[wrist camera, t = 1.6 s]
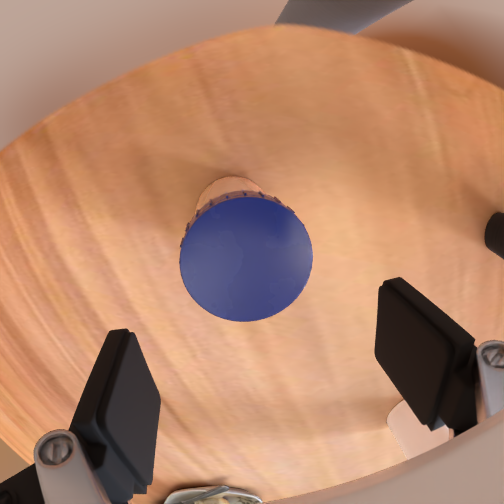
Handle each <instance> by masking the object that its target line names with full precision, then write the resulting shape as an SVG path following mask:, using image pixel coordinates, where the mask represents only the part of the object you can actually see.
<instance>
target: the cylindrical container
mask: <svg viewBox="0 0 504 504" xmlns="http://www.w3.org/2000/svg"><path fill="white" fill-rule="evenodd" d="M386 421H387V424H388V426H389V428H390V430H391V432H392V433H393V435H394V437H395V439H396V440H397V442H398V444H399V446H400V448H401V449H402V451H403V453H404V455H405V457H406V458H407V460H409V459H411V458H413V457H416V456H418V455H420V454H422V453H424V452H427V451H429V450H431V449H433V448H435V447H437V446H439V445H441V444H443V443H445V442H447V441H449V428H447V426H446V425H444V426H442V427H440V428H438V429H436V430H434V431H432V432H431V431H430V429H429V428H428V426H427V425H422V424H421V423H420V421H419V420H418V419H417V417H416V416H415V414H414V413H413V411H412V410H411V408H410V407H409V405H408V404H407V402H406V401H405V400H403V401H401V402H400V403H399V404H397V405H396V406H395V407H394V408H393V409H392V410H391V412H390V413H389V415H388V417H387V420H386Z"/></svg>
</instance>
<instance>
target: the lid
mask: <svg viewBox="0 0 504 504" xmlns="http://www.w3.org/2000/svg"><path fill="white" fill-rule="evenodd" d="M294 213H295V212H294V211H293V210H292V209H290V208H289V207H288V206H287V207H286V206H285V205H284V204H282V203H281V201H280V200H279V199H277V198H276V197H274V198H273V197H271V196H269V195H267V194H264V193H262V192H261V191H259V192H256V191H245V190H244V189H242V191H233V192H229V193H227V192H225V194H223V195H220V196H218V197H216V198H214V199H209V202H208V203H206V204H205V205H204V206H203V207H202V208H201V209H199V210H198V209H197V210H196V214H195V215H194V217H193V218H192V220H191V221H190V223H188V224H187V227H186V230H185V231H186V233H185V236H184V238H182V241H181V245H180V247H181V252H180V261H179V264H180V271H181V276H182V279H183V282H184V285H185V287H186V289H187V291H188V292H189V294H190V295H191V297H192V298H193V299H194V300H195V301H196V302H197V303H198V304H199V305H200V306H201V307H202V308H203V309H205V310H206V311H208V312H209V313H211V314H213V315H215V316H217V317H220V318H223V319H227V320H231V321H239V322H249V321H257V320H261V319H265V318H267V317H270V316H273V315H275V314H277V313H279V312H280V311H282V310H283V309H285V308H286V307H288V306H289V305H290V304H291V303H292V302H293V301H294V300H295V299H296V298H297V297H298V296H299V294H300V293H301V292H302V290H303V289H304V287H305V285H306V283H307V281H308V278H309V276H310V272H311V269H312V261H313V252H312V245H311V241H310V238H309V235H308V233H307V231H306V229H305V227H304V224H303V223H302V222H301V221H300V220H299V219H298V218H297V216H296V215H295V214H294Z"/></svg>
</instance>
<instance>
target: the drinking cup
mask: <svg viewBox="0 0 504 504" xmlns="http://www.w3.org/2000/svg"><path fill="white" fill-rule="evenodd" d="M485 243H486V246H487V247H488V248H489V249H490V250H491V251H493V252H494V253H496V254H497V255H498V256H500V257H501V258H503V259H504V213H496V214H494V215H493V216H492V217H491V219H490V220H489V222H488V224H487V227H486V231H485Z"/></svg>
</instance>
